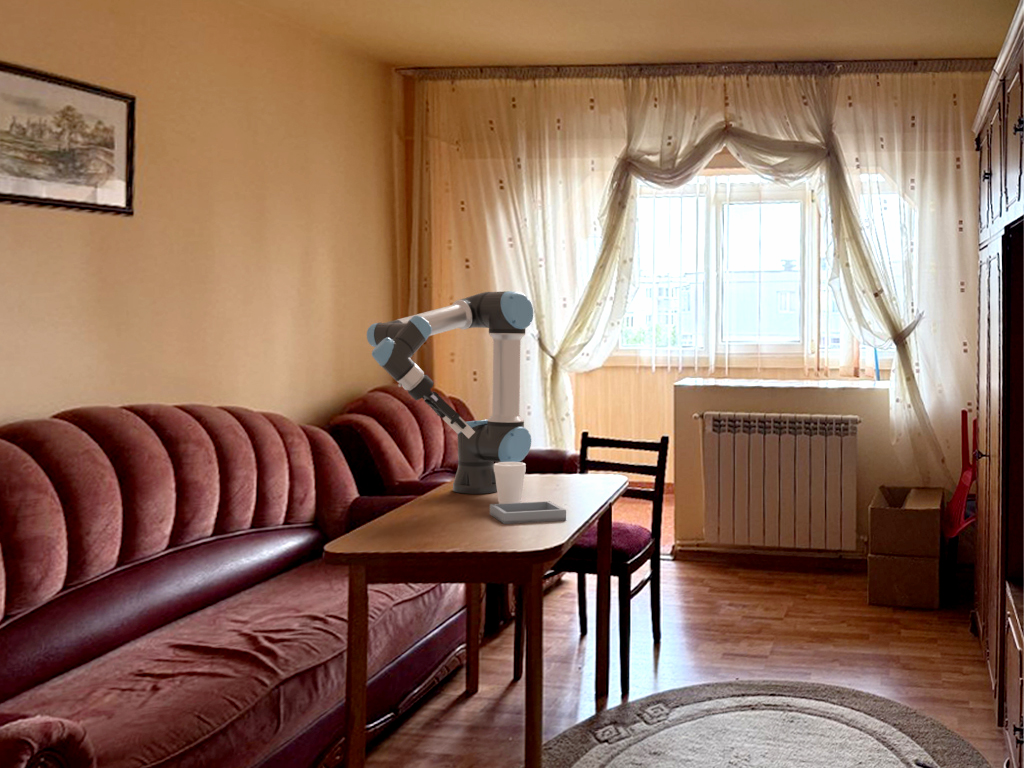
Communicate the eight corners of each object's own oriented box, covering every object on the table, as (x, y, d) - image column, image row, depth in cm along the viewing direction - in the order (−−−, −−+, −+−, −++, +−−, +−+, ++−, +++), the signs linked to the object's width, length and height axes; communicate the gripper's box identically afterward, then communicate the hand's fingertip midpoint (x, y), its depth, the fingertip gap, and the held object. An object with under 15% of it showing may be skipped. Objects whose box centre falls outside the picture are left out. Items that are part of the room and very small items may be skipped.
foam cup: (522, 510, 335) (521, 466, 334) (491, 509, 337) (491, 465, 336) (528, 504, 344) (527, 462, 343) (498, 503, 346) (497, 461, 345)
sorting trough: (489, 514, 328) (489, 504, 328) (549, 511, 333) (549, 501, 333) (504, 524, 313) (504, 513, 313) (566, 520, 318) (566, 509, 318)
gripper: (399, 389, 341) (447, 437, 346) (415, 394, 317) (467, 446, 322) (416, 371, 343) (464, 420, 348) (434, 375, 319) (485, 427, 324)
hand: (466, 432), depth 335 cm, fingers open, 13 cm apart
